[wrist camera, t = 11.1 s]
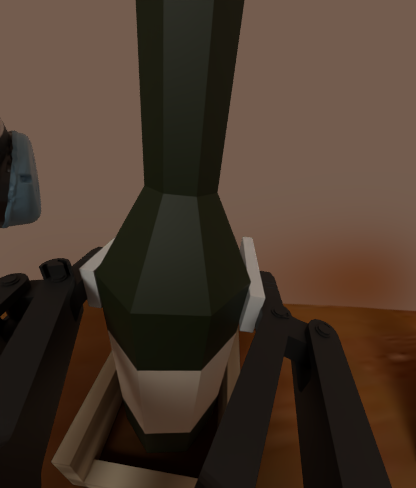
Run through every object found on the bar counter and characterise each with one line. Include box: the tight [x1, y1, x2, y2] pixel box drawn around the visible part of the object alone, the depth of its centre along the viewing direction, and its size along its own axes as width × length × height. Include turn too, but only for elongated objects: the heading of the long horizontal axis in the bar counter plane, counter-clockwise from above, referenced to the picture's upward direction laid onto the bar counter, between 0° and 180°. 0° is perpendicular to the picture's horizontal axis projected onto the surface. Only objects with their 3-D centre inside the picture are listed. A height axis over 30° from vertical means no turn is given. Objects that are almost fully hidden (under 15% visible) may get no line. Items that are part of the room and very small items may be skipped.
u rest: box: [51, 328, 240, 488], centre depth 19 cm, size 12×12×6 cm
